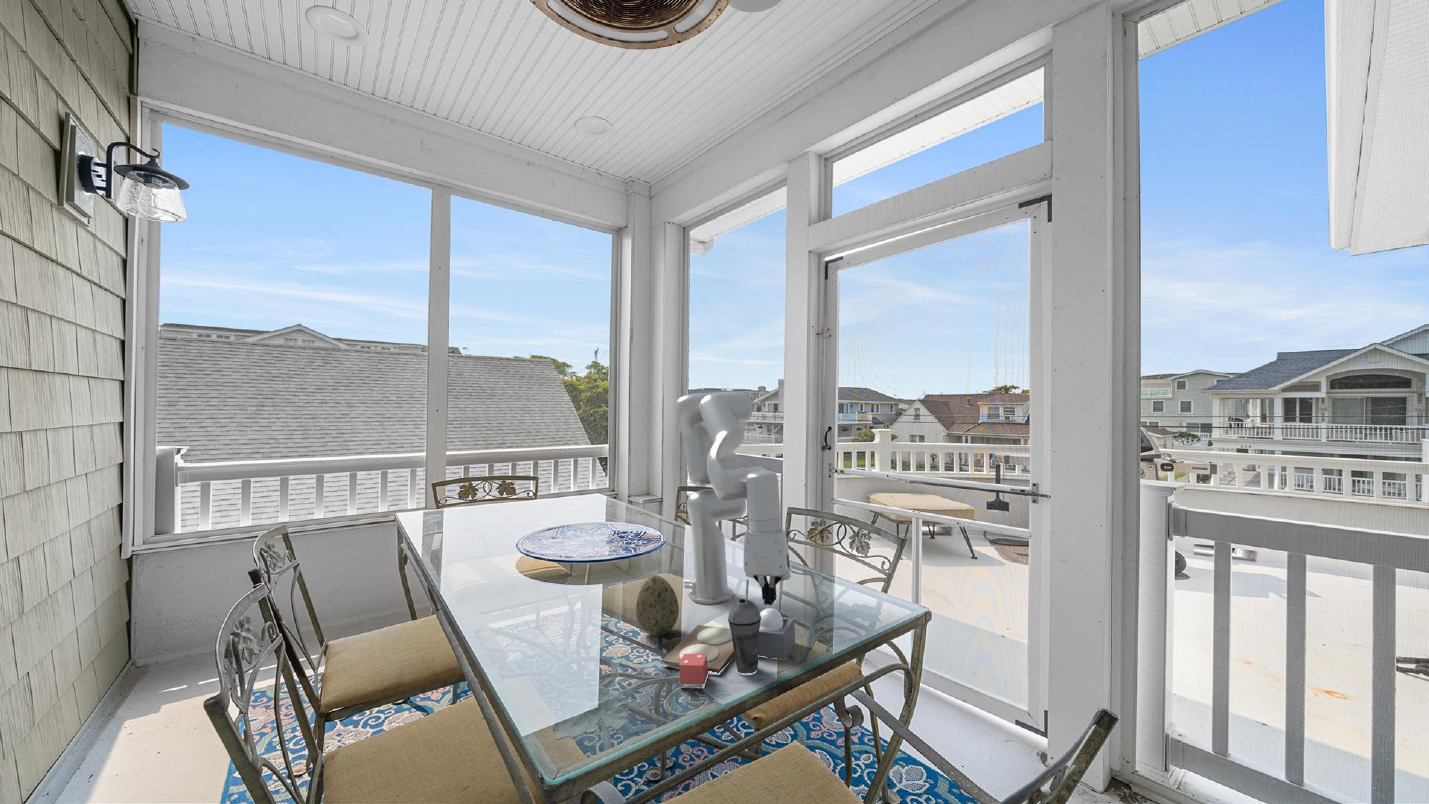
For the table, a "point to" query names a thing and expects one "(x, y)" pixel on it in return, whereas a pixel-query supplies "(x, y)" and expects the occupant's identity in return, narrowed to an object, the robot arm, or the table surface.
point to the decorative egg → (657, 606)
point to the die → (693, 669)
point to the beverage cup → (745, 633)
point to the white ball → (771, 620)
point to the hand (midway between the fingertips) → (769, 602)
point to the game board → (705, 647)
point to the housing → (777, 640)
